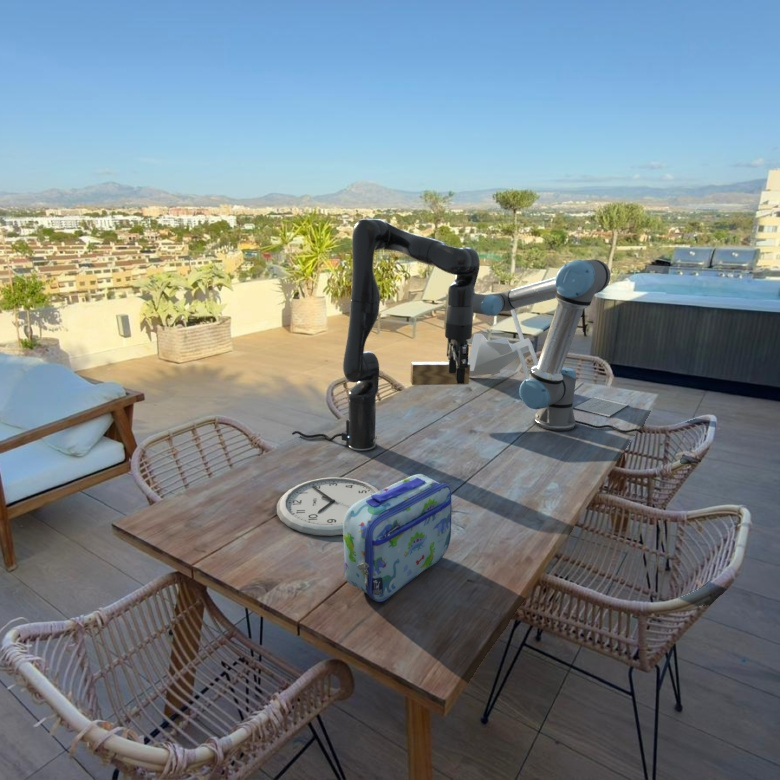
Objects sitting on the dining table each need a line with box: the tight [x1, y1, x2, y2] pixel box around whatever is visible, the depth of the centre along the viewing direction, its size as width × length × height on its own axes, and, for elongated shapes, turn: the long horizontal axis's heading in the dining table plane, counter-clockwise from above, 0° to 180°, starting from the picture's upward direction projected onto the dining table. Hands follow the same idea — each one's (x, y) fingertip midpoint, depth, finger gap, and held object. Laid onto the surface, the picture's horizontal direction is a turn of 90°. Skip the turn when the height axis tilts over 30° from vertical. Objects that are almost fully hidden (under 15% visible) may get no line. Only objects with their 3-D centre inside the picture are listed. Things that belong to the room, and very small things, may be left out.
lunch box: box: [342, 473, 453, 603], centre depth 112 cm, size 26×11×21 cm, turn 134°
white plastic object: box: [468, 309, 539, 380], centre depth 259 cm, size 37×45×31 cm
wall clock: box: [276, 476, 381, 537], centre depth 142 cm, size 30×2×30 cm
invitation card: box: [573, 396, 629, 418], centre depth 226 cm, size 21×1×15 cm
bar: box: [409, 361, 470, 386], centre depth 216 cm, size 24×5×9 cm, turn 96°
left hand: (455, 376), depth 152 cm, fingers open, 8 cm apart
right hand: (459, 381), depth 218 cm, fingers closed on bar, 5 cm apart
